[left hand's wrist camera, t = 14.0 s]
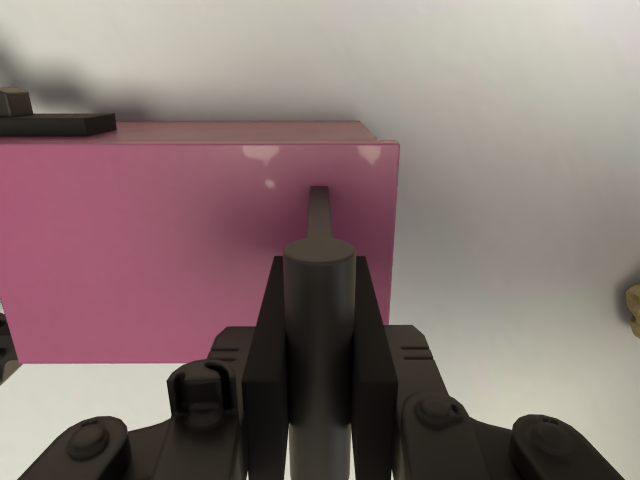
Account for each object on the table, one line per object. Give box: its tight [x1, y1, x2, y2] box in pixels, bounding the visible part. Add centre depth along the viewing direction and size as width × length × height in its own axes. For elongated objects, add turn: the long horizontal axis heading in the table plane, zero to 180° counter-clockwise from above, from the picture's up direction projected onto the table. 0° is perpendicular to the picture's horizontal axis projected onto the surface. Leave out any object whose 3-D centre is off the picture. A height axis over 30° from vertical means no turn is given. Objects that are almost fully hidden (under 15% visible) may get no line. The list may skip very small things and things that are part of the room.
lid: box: [0, 140, 400, 480], centre depth 14 cm, size 16×10×9 cm, turn 90°
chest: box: [0, 121, 378, 141], centre depth 22 cm, size 16×10×9 cm, turn 90°
